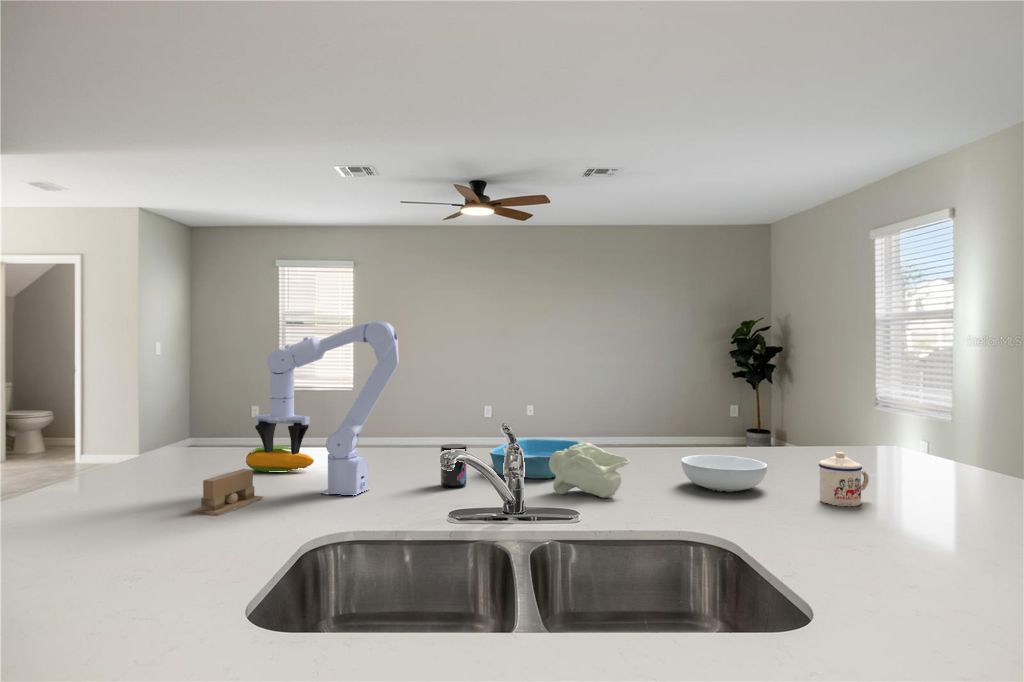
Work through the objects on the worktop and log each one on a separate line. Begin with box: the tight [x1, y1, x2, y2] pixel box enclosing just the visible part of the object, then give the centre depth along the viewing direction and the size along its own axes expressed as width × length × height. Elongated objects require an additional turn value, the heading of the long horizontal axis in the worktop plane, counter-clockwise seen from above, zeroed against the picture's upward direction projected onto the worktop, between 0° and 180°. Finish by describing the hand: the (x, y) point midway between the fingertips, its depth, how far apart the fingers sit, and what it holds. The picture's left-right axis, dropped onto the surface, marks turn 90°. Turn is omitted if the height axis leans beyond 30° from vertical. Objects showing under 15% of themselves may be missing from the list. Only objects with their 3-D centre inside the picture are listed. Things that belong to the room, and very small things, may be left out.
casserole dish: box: [489, 437, 582, 479], centre depth 190 cm, size 37×22×7 cm, turn 161°
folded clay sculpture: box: [549, 442, 631, 499], centre depth 160 cm, size 18×13×16 cm
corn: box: [245, 445, 315, 473], centre depth 186 cm, size 7×8×20 cm
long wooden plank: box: [202, 468, 254, 499], centre depth 148 cm, size 3×13×4 cm, turn 163°
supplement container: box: [440, 443, 468, 490], centre depth 168 cm, size 7×7×10 cm
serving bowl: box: [680, 454, 768, 493], centre depth 166 cm, size 21×21×7 cm
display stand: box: [191, 485, 264, 516], centre depth 148 cm, size 7×15×3 cm, turn 163°
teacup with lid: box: [818, 451, 870, 508], centre depth 152 cm, size 12×9×12 cm
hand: (282, 452), depth 161 cm, fingers open, 7 cm apart
